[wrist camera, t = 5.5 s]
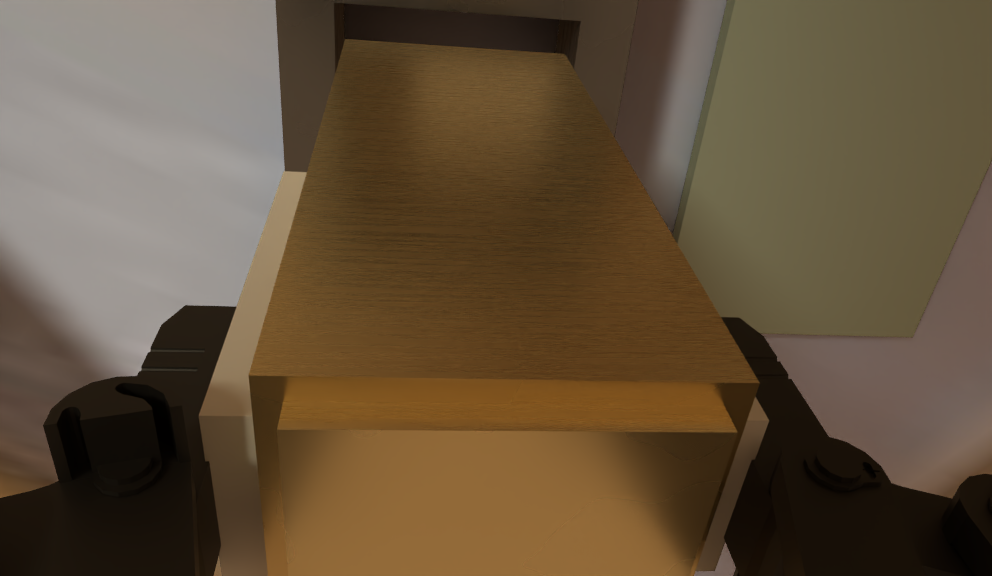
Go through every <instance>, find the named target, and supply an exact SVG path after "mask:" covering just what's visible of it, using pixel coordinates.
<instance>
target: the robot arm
mask: <svg viewBox="0 0 992 576" xmlns="http://www.w3.org/2000/svg"><path fill="white" fill-rule="evenodd" d="M306 174H307V172H290V171H284V172H283V175H282V178H281V181H280V184H279V187H278V190H277V192H276V195H275V198H274V201H273V204H272V207H271V210H270V213H269V215H268V218H267V221H266V224H265V227H264V230H263V233H262V236H261V238H260V241H259V244H258V247H257V250H256V253H255V256H254V258H253V261H252V264H251V267H250V270H249V273H248V276H247V279H246V281H245V284H244V287H243V290H242V293H241V296H240V299H239V301H238V304H237V307H228V306H188V305H185V306H184V307H183V308H182V309H180V310H179V311H178V312H177V313H176V314H174V315H173V316H172V317H171V318H169V319H168V320H167V321H166V322H164V323H163V324H162V325H161V327H160V329H159V331H158V333H157V335H156V338H155V340H154V342H153V344H152V346H151V352H148V354H147V356H146V358H145V360H144V363H143V365H142V370H141V371H139V373H138V375H137V376H128V377H114V378H110V379H106V380H101V381H97V382H93V383H90V384H88V385H86V386H84V387H82V388H80V389H78V390H76V391H74V392H72V393H70V394H68V395H67V396H66V397H65V398H64V399H62V400H61V401H60V402H59V403H58V404H57V405H55V406H54V407H53V408H52V409H51V411H50V413H49V415H48V417H47V419H46V421H45V423H44V425H43V427H44V430H45V434H46V437H47V441H48V444H49V448H50V451H51V455H52V458H53V462H54V465H55V469H56V472H57V476H58V479H59V481H58V482H55V483H53V484H51V485H49V486H45V487H42V488H39V489H36V490H32V491H29V492H25V493H20V494H16V495H12V496H7V497H3V498H0V576H213V575H214V571H215V567H216V564H217V560H218V556H219V559H220V566H221V572H222V576H268V571H267V560H266V550H265V540H264V530H263V519H262V509H261V499H260V489H259V479H258V468H257V458H256V448H255V438H254V427H253V417H252V407H251V397H250V387H249V376H248V375H249V372H250V368H251V365H252V361H253V358H254V354H255V351H256V347H257V344H258V340H259V337H260V334H261V330H262V327H263V323H264V320H265V316H266V313H267V309H268V306H269V302H270V299H271V295H272V292H273V288H274V285H275V281H276V278H277V274H278V271H279V267H280V264H281V261H282V257H283V254H284V250H285V247H286V243H287V240H288V236H289V233H290V229H291V226H292V222H293V219H294V215H295V212H296V208H297V205H298V201H299V198H300V194H301V191H302V188H303V184H304V181H305V177H306ZM721 318H722V320H723V322H724V323H725V325H726V327H727V329H728V330H729V332H730V334H731V335H732V337H733V339H734V340H735V342H736V344H737V345H738V347H739V349H740V350H741V352H742V354H743V356H744V357H745V359H746V361H747V362H748V364H749V366H750V367H751V369H752V371H753V372H754V374H755V376H756V377H757V379H758V381H759V383H760V384H759V387H758V390H757V393H756V396H755V399H754V402H753V405H752V408H751V411H750V413H749V416H748V419H747V422H746V425H745V428H744V431H743V434H742V437H741V440H740V443H739V445H738V448H737V451H736V454H735V457H734V460H733V463H732V466H731V469H730V472H729V475H728V477H727V480H726V483H725V486H724V489H723V492H722V495H721V498H720V501H719V504H718V507H717V510H716V512H715V515H714V518H713V521H712V524H711V527H710V530H709V533H708V536H707V539H706V542H705V544H704V547H703V550H702V553H701V556H700V559H699V562H698V565H697V568H696V571H715V568H716V566H717V563H718V560H719V557H720V555H721V552H722V549H723V546H724V544H725V542H726V544H727V547H728V549H729V552H730V554H731V556H732V559H733V561H734V564H735V566H736V570H735V572H734V575H733V576H992V475H990V474H982V475H976V476H970V477H968V478H967V479H966V480H965V481H964V482H963V483H962V484H961V485H960V486H959V488H958V490H957V491H956V493H955V495H954V497H953V498H952V499H951V498H947V497H943V496H939V495H934V494H930V493H926V492H922V491H918V490H914V489H909V488H905V487H901V486H898V485H895V484H892V483H891V482H890V480H889V478H888V477H887V475H886V474H885V472H884V470H883V469H882V467H881V466H880V465H879V464H878V463H877V462H876V461H874V460H873V459H872V458H871V457H870V456H869V455H868V454H866V453H865V452H863V451H862V450H860V449H858V448H856V447H854V446H852V445H851V444H849V443H847V442H845V441H841V440H838V439H834V438H831V437H829V436H828V435H827V433H826V432H825V430H824V429H823V427H822V426H821V424H820V423H819V421H818V420H817V418H816V416H815V415H814V413H813V412H812V410H811V409H810V407H809V406H808V404H807V403H806V401H805V399H804V398H803V396H802V395H801V393H800V392H799V390H798V389H797V387H796V386H795V384H794V383H793V381H792V379H788V373H787V372H786V370H785V369H784V367H783V366H782V364H781V363H780V362H777V356H776V355H775V353H774V352H773V350H772V349H771V347H770V346H769V344H768V343H767V341H766V339H765V338H764V336H762V335H761V334H760V333H759V332H757V331H756V330H755V329H753V328H752V327H751V326H750V325H748V324H747V323H746V322H745V321H743V320H742V319H741V318H739V317H721Z"/></svg>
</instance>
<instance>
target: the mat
mask: <svg viewBox="0 0 992 576" xmlns="http://www.w3.org/2000/svg"><path fill="white" fill-rule="evenodd" d="M991 161H992V0H727V4H726V8H725V12H724V17H723V21H722V25H721V30H720V34H719V38H718V42H717V47H716V51H715V55H714V60H713V64H712V68H711V72H710V77H709V81H708V85H707V90H706V94H705V98H704V103H703V107H702V111H701V115H700V120H699V124H698V128H697V133H696V137H695V141H694V145H693V150H692V154H691V158H690V163H689V167H688V171H687V176H686V180H685V184H684V188H683V193H682V197H681V201H680V206H679V210H678V214H677V218H676V223H675V227H674V231H673V237H674V239H675V241H676V242H677V244H678V246H679V248H680V249H681V251H682V253H683V254H684V256H685V258H686V259H687V261H688V263H689V264H690V266H691V268H692V269H693V271H694V273H695V275H696V276H697V278H698V280H699V281H700V283H701V285H702V286H703V288H704V290H705V291H706V293H707V295H708V296H709V298H710V300H711V302H712V303H713V305H714V307H715V308H716V310H717V312H718V313H719V315H720V317H739V318H741V319H742V320H743V321H745V322H746V323H747V324H748V325H750V326H751V327H752V328H753V329H755V330H756V331H757V332H759V333H763V334H801V335H838V336H876V337H913V335H914V333H915V331H916V329H917V326H918V324H919V322H920V320H921V317H922V315H923V313H924V311H925V308H926V306H927V304H928V302H929V299H930V297H931V295H932V293H933V291H934V288H935V286H936V284H937V282H938V279H939V277H940V275H941V273H942V270H943V268H944V266H945V264H946V261H947V259H948V257H949V255H950V252H951V250H952V248H953V246H954V244H955V241H956V239H957V237H958V235H959V232H960V230H961V228H962V226H963V223H964V221H965V219H966V217H967V214H968V212H969V210H970V208H971V205H972V203H973V201H974V199H975V196H976V194H977V192H978V190H979V188H980V185H981V183H982V181H983V179H984V176H985V174H986V172H987V170H988V167H989V165H990V163H991Z"/></svg>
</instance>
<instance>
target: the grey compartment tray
mask: <svg viewBox="0 0 992 576" xmlns="http://www.w3.org/2000/svg"><path fill="white" fill-rule="evenodd" d="M344 3H346V4H360V5H373V6H387V7H400V8H413V9H427V10H440V11H453V12H467V13H480V14H494V15H507V16H520V17H534V18H547V19H560V20H559V28H558V35H557V43H556V51H555V53H557V54H565V55H566V57H567V59H568V60H569V62H570V64H571V65H572V67H573V69H574V70H575V72H576V74H577V75H578V77H579V79H580V80H581V82H582V84H583V86H584V87H585V89H586V91H587V92H588V94H589V96H590V97H591V99H592V101H593V102H594V104H595V106H596V107H597V109H598V111H599V113H600V114H601V116H602V118H603V119H604V121H605V123H606V124H607V126H608V128H609V129H610V131H611V133H612V134H613V136H615V131H616V125H617V119H618V114H619V108H620V102H621V97H622V91H623V85H624V80H625V74H626V68H627V62H628V57H629V51H630V45H631V40H632V34H633V28H634V23H635V17H636V11H637V6H638V0H276V15H277V34H278V52H279V70H280V89H281V107H282V125H283V143H284V162H285V171H290V172H307V170H308V167H309V163H310V160H311V156H312V153H313V149H314V146H315V142H316V139H317V135H318V132H319V128H320V125H321V121H322V118H323V115H324V111H325V108H326V104H327V101H328V97H329V94H330V90H331V87H332V83H333V80H334V76H335V73H336V69H337V66H338V62H339V59H340V55H341V52H342V48H343V45H344V42H345V30H344Z"/></svg>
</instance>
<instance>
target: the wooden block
mask: <svg viewBox="0 0 992 576" xmlns="http://www.w3.org/2000/svg"><path fill="white" fill-rule="evenodd" d="M248 376H249V387H250V397H251V407H252V417H253V427H254V438H255V448H256V458H257V468H258V479H259V489H260V499H261V509H262V519H263V530H264V540H265V550H266V560H267V571H268V576H694V574H695V571H696V568H697V565H698V562H699V559H700V556H701V553H702V550H703V547H704V544H705V542H706V539H707V536H708V533H709V530H710V527H711V524H712V521H713V518H714V515H715V512H716V510H717V507H718V504H719V501H720V498H721V495H722V492H723V489H724V486H725V483H726V480H727V477H728V475H729V472H730V469H731V466H732V463H733V460H734V457H735V454H736V451H737V448H738V445H739V443H740V440H741V437H742V434H743V431H744V428H745V425H746V422H747V419H748V416H749V413H750V411H751V408H752V405H753V402H754V399H755V396H756V393H757V390H758V387H759V384H760V383H759V381H758V379H757V377H756V376H755V374H754V372H753V371H752V369H751V367H750V366H749V364H748V362H747V361H746V359H745V357H744V356H743V354H742V352H741V350H740V349H739V347H738V345H737V344H736V342H735V340H734V339H733V337H732V335H731V334H730V332H729V330H728V329H727V327H726V325H725V323H724V322H723V320H722V318H721V317H720V315H719V313H718V312H717V310H716V308H715V307H714V305H713V303H712V302H711V300H710V298H709V296H708V295H707V293H706V291H705V290H704V288H703V286H702V285H701V283H700V281H699V280H698V278H697V276H696V275H695V273H694V271H693V269H692V268H691V266H690V264H689V263H688V261H687V259H686V258H685V256H684V254H683V253H682V251H681V249H680V248H679V246H678V244H677V242H676V241H675V239H674V237H673V236H672V234H671V232H670V231H669V229H668V227H667V226H666V224H665V222H664V221H663V219H662V217H661V215H660V214H659V212H658V210H657V209H656V207H655V205H654V204H653V202H652V200H651V199H650V197H649V195H648V194H647V192H646V190H645V188H644V187H643V185H642V183H641V182H640V180H639V178H638V177H637V175H636V173H635V172H634V170H633V168H632V167H631V165H630V163H629V161H628V160H627V158H626V156H625V155H624V153H623V151H622V150H621V148H620V146H619V145H618V143H617V141H616V140H615V138H614V136H613V134H612V133H611V131H610V129H609V128H608V126H607V124H606V123H605V121H604V119H603V118H602V116H601V114H600V113H599V111H598V109H597V107H596V106H595V104H594V102H593V101H592V99H591V97H590V96H589V94H588V92H587V91H586V89H585V87H584V86H583V84H582V82H581V80H580V79H579V77H578V75H577V74H576V72H575V70H574V69H573V67H572V65H571V64H570V62H569V60H568V59H567V57H566V55H565V54H557V53H543V52H528V51H513V50H499V49H484V48H469V47H454V46H440V45H425V44H410V43H396V42H381V41H366V40H352V39H345V42H344V45H343V48H342V52H341V55H340V59H339V62H338V66H337V69H336V73H335V76H334V80H333V83H332V87H331V90H330V94H329V97H328V101H327V104H326V108H325V111H324V115H323V118H322V121H321V125H320V128H319V132H318V135H317V139H316V142H315V146H314V149H313V153H312V156H311V160H310V163H309V167H308V170H307V174H306V177H305V181H304V184H303V188H302V191H301V194H300V198H299V201H298V205H297V208H296V212H295V215H294V219H293V222H292V226H291V229H290V233H289V236H288V240H287V243H286V247H285V250H284V254H283V257H282V261H281V264H280V267H279V271H278V274H277V278H276V281H275V285H274V288H273V292H272V295H271V299H270V302H269V306H268V309H267V313H266V316H265V320H264V323H263V327H262V330H261V334H260V337H259V340H258V344H257V347H256V351H255V354H254V358H253V361H252V365H251V368H250V372H249V375H248Z"/></svg>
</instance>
